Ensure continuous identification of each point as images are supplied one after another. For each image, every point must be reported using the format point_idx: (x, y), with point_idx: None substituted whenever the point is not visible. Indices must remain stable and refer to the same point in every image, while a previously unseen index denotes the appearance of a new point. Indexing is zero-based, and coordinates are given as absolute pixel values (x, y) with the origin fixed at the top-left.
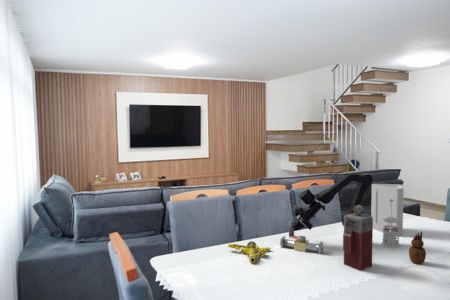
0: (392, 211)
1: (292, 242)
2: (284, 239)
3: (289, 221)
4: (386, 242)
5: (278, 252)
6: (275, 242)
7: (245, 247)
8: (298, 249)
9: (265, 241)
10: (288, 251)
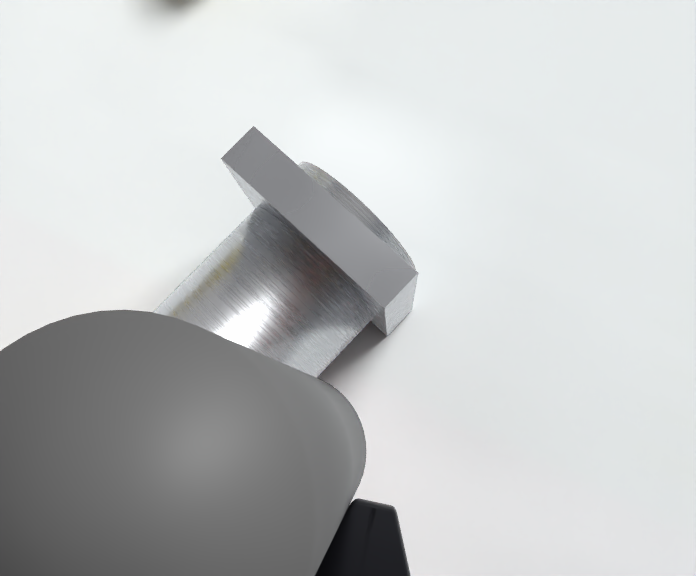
0: None
1: None
2: (280, 243)
3: (244, 402)
4: None
5: (89, 79)
6: (579, 210)
7: None
8: None
9: (677, 52)
10: (71, 251)
